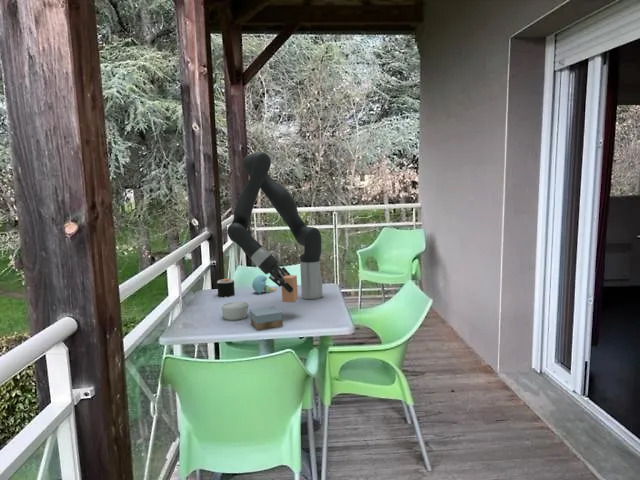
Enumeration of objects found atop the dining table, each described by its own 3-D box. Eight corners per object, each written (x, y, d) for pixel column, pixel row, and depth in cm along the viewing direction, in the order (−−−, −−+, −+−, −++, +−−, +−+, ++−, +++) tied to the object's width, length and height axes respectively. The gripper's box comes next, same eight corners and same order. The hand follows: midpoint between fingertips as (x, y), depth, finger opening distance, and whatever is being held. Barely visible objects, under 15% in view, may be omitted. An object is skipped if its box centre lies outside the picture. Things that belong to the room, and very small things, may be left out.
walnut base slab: (275, 321, 200) (275, 313, 200) (282, 327, 191) (282, 320, 190) (251, 324, 197) (250, 317, 196) (257, 331, 187) (256, 323, 187)
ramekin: (234, 312, 214) (233, 300, 214) (254, 315, 209) (254, 302, 208) (216, 319, 205) (215, 306, 204) (237, 322, 199) (236, 309, 198)
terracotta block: (286, 298, 208) (285, 275, 206) (297, 299, 206) (296, 275, 205) (282, 302, 203) (281, 277, 202) (294, 302, 202) (292, 278, 200)
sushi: (235, 292, 251) (234, 277, 250) (233, 296, 243) (232, 280, 242) (219, 293, 251) (218, 277, 250) (216, 297, 243) (215, 281, 242)
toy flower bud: (278, 276, 247) (254, 276, 243) (277, 294, 248) (253, 294, 244) (275, 273, 254) (251, 274, 250) (274, 291, 254) (251, 291, 251)
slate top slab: (274, 313, 200) (273, 306, 200) (282, 319, 191) (281, 312, 190) (250, 317, 196) (249, 310, 196) (256, 323, 187) (256, 316, 187)
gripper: (263, 257, 197) (294, 287, 196) (276, 251, 211) (305, 279, 209) (252, 270, 199) (282, 300, 198) (265, 263, 213) (293, 291, 211)
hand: (293, 289), depth 203 cm, fingers closed on terracotta block, 5 cm apart
